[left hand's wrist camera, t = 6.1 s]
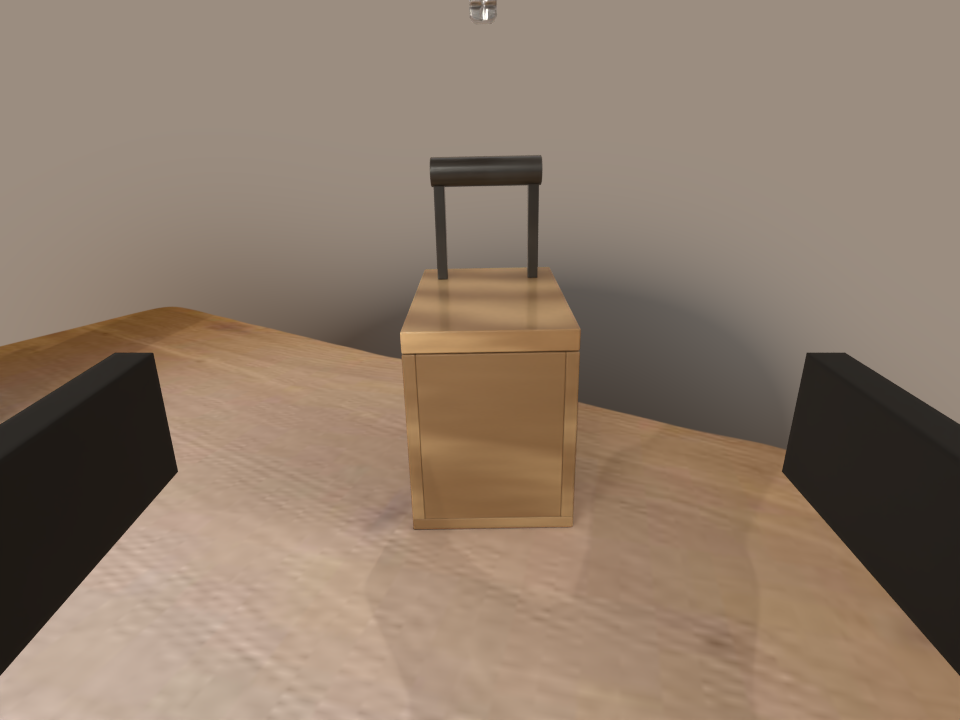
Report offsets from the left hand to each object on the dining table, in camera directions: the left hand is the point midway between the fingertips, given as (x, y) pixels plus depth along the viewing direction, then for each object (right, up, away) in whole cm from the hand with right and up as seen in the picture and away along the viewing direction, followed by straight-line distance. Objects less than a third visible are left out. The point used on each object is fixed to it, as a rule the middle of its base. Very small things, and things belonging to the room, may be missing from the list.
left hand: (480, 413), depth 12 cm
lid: (+1, +4, +26) cm, 26 cm away
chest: (+1, -6, +30) cm, 30 cm away
